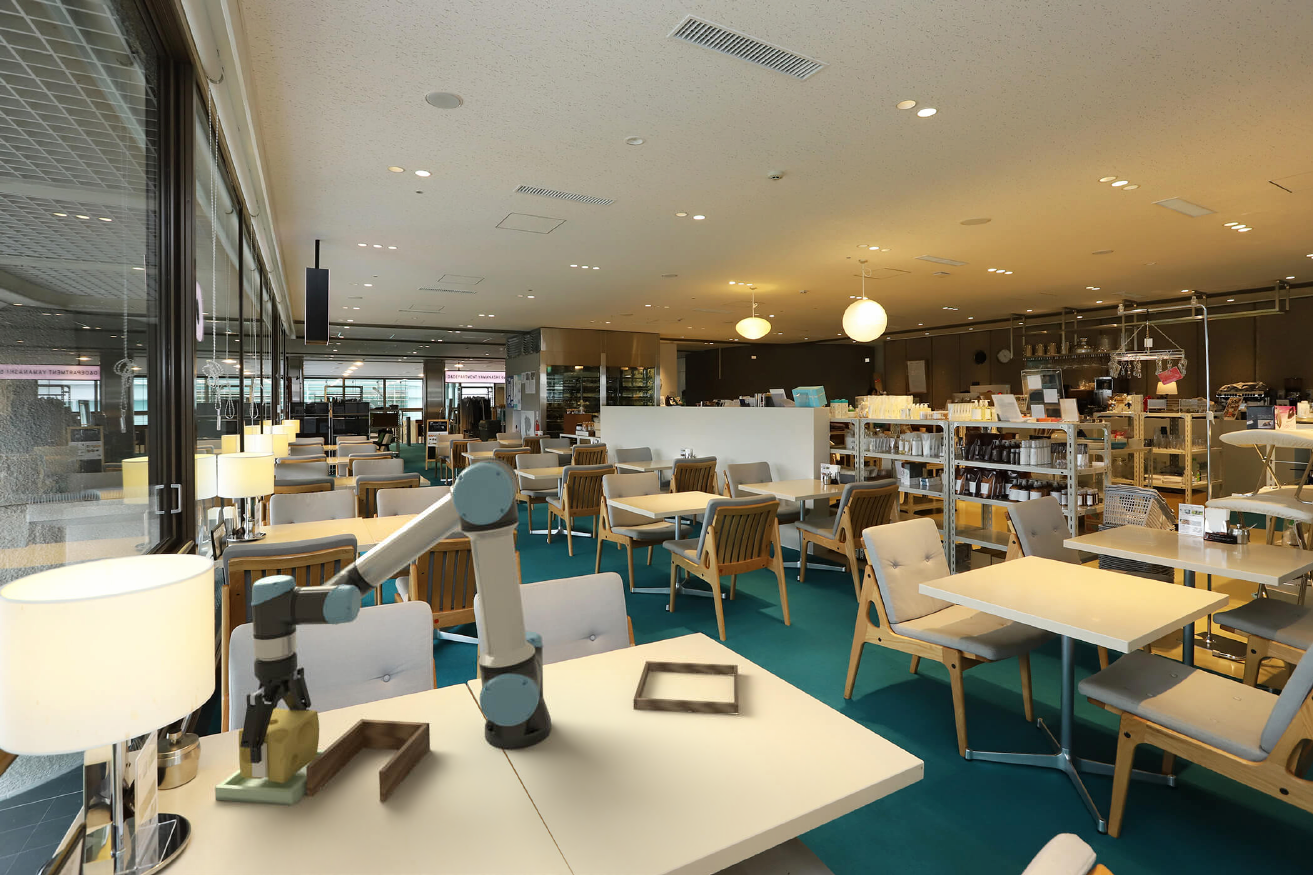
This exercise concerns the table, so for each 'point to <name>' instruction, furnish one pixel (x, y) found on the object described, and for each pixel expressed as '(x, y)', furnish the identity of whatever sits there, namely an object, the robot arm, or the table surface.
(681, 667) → the frame
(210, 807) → the table surface
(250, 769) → the cheese
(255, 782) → the tray
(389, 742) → the cubby
